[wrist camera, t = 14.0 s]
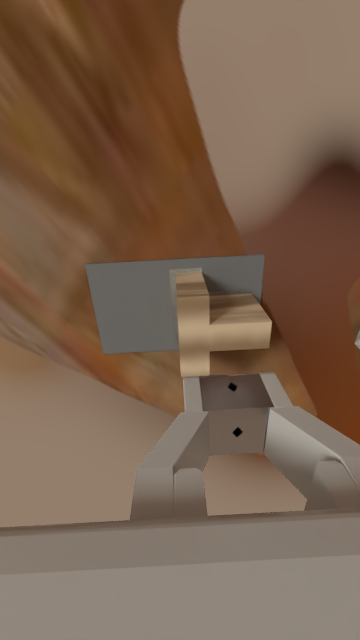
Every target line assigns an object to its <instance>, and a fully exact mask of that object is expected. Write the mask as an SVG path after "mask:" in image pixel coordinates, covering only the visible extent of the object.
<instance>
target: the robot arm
mask: <svg viewBox="0 0 360 640" xmlns="http://www.w3.org/2000/svg"><path fill="white" fill-rule="evenodd" d="M183 387H184V406H185V412H182V413H180V414H179V415H178V416H177V418H176V419H175V420H174V422H173V423H172V424H171V426H170V427H169V428H168V429H167V431H166V432H165V433H164V435H163V436H162V437H161V439H160V440H159V441H158V442H157V444H156V445H155V446H154V448H153V449H152V450H151V451H150V453H149V454H148V455H147V457H146V458H145V459H144V460H143V462H142V463H141V464H140V466H139V467H138V468H137V469H136V477H135V484H134V492H133V500H132V507H131V515H130V520H125V521H108V522H89V523H72V524H56V525H55V524H54V525H36V526H20V527H19V526H18V527H1V528H0V640H360V445H359V444H357V443H356V442H354V441H352V440H351V439H349V438H348V437H346V436H344V435H343V434H341V433H340V432H338V431H337V430H335V429H333V428H332V427H330V426H328V425H327V424H325V423H324V422H322V421H321V420H319V419H318V418H316V417H314V416H313V415H311V414H310V413H308V412H306V411H305V410H303V409H302V408H300V407H298V406H293V405H292V403H291V401H290V400H289V398H288V396H287V394H286V392H285V390H284V389H283V387H282V385H281V383H280V381H279V380H278V378H277V376H276V374H275V373H274V372H262V373H255V374H238V375H210V376H199V377H198V376H186V377H183ZM234 453H264V455H265V456H266V457H267V458H268V459H269V460H270V461H271V462H272V463H273V464H274V465H275V466H276V467H277V468H278V469H279V470H280V471H281V472H282V474H283V475H284V476H285V477H286V478H287V479H288V480H289V481H290V482H291V483H292V484H293V485H294V486H295V487H296V488H297V489H298V490H299V491H300V492H301V493H302V494H303V495H304V497H306V499H307V502H306V506H305V509H304V511H289V512H270V513H254V514H234V515H216V516H208V515H207V508H206V498H205V489H204V482H203V473H202V472H203V470H204V467H205V465H206V463H207V461H208V458H209V456H210V455H222V454H234Z"/></svg>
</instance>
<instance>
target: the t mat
mask: <svg viewBox="0 0 360 640" xmlns="http://www.w3.org/2000/svg"><path fill="white" fill-rule="evenodd" d="M264 260H265V254H262V255H242V256H224V257H206V258H187V259H169V260H151V261H132V262H114V263H96V264H85V266H86V271H87V276H88V281H89V286H90V291H91V296H92V300H93V305H94V310H95V315H96V320H97V325H98V330H99V335H100V340H101V345H102V349H103V354H114V353H132V352H149V351H167V350H179V333H178V316H177V298H176V276H175V273H189V272H202V275H203V278H204V281H205V284H206V287H207V290H208V293H209V296H213V295H232V294H250V293H252V295H253V296H254V297H255V299H256V300H257V301H258V303H259V304H260V305H261V294H262V283H263V272H264Z"/></svg>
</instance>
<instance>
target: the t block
mask: <svg viewBox="0 0 360 640" xmlns="http://www.w3.org/2000/svg"><path fill="white" fill-rule="evenodd" d="M175 276H176V298H177V316H178V333H179V350H180V368H181V377H186V376H209V351H227V350H245V349H263V348H269V344H270V335H271V327H272V321H271V319H270V318H269V317H268V315H267V314H266V312H265V311H264V310H263V308H262V307H261V306H260V304H259V303H258V301H257V300H256V299H255V297H254V296H253V295H252V293H250V294H232V295H213V296H209V293H208V290H207V287H206V284H205V281H204V278H203V275H202V272H189V273H175Z"/></svg>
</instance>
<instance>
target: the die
mask: <svg viewBox="0 0 360 640" xmlns="http://www.w3.org/2000/svg"><path fill="white" fill-rule="evenodd" d="M354 344H355V345H356V346H357V347H358V348H359V349H360V330H359V333H358V335H357V338H356V340H355V343H354Z"/></svg>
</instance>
